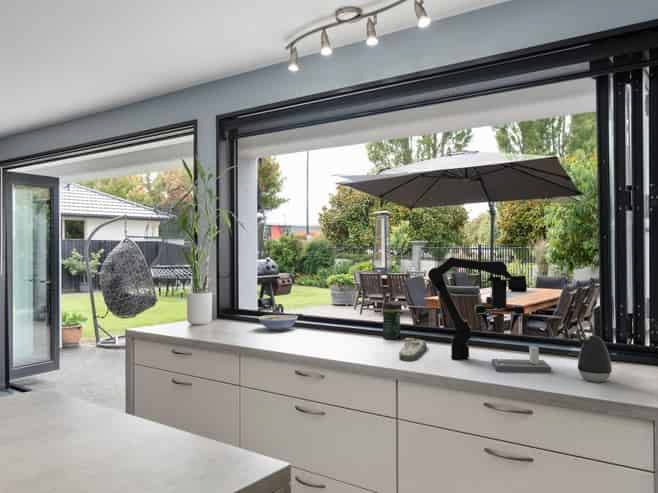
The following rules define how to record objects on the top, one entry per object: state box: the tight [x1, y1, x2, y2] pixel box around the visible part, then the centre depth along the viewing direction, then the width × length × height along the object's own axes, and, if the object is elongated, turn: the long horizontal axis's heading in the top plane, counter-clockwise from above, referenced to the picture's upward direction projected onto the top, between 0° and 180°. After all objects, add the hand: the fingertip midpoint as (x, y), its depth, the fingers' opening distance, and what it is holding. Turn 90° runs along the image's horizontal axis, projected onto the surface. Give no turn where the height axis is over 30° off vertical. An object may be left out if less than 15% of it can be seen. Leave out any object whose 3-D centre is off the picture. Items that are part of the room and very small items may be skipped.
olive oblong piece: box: [398, 337, 427, 362], centre depth 220 cm, size 35×5×10 cm
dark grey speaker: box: [577, 335, 613, 383], centre depth 170 cm, size 10×10×15 cm
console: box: [491, 358, 552, 374], centre depth 188 cm, size 19×12×2 cm, turn 80°
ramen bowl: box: [258, 313, 303, 332], centre depth 289 cm, size 25×23×8 cm
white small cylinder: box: [528, 345, 540, 364], centre depth 187 cm, size 3×4×6 cm, turn 170°
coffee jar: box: [382, 301, 402, 340], centre depth 256 cm, size 10×8×19 cm
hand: (499, 330), depth 203 cm, fingers open, 9 cm apart
